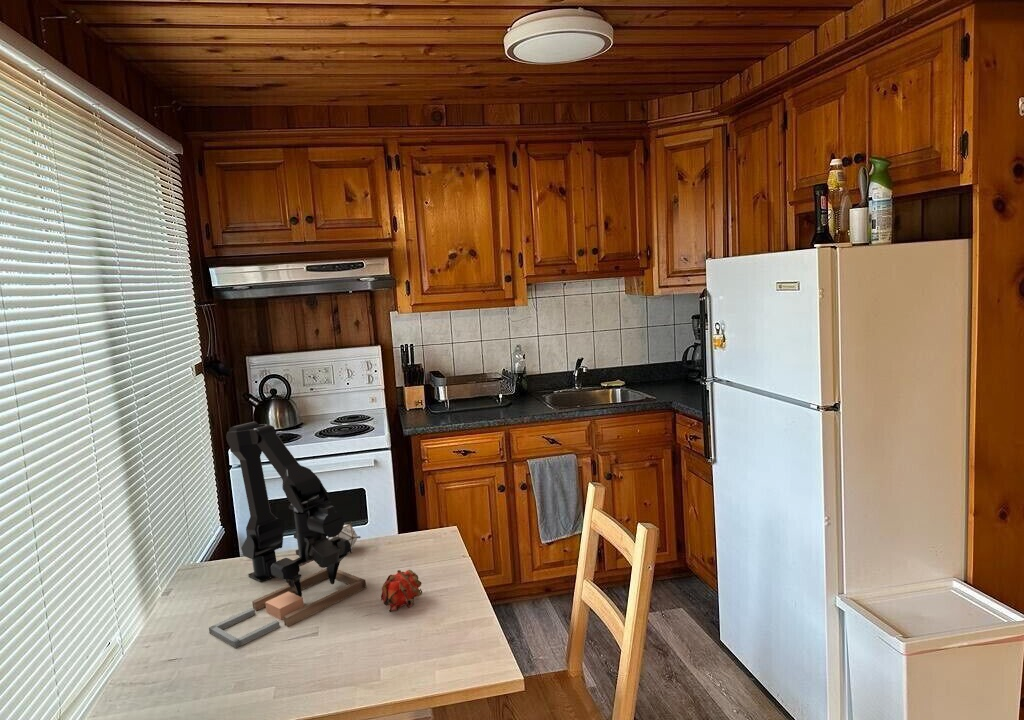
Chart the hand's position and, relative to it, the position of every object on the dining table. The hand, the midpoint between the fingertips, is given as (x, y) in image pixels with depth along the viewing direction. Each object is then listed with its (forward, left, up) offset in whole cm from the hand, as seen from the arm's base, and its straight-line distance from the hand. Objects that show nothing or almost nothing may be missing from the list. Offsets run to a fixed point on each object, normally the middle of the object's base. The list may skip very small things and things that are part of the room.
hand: (316, 591), depth 169 cm
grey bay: (0, -18, -1) cm, 18 cm away
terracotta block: (0, -9, -1) cm, 9 cm away
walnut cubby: (0, -2, -1) cm, 3 cm away
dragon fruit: (+22, +8, -1) cm, 23 cm away
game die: (-16, +20, -1) cm, 25 cm away
